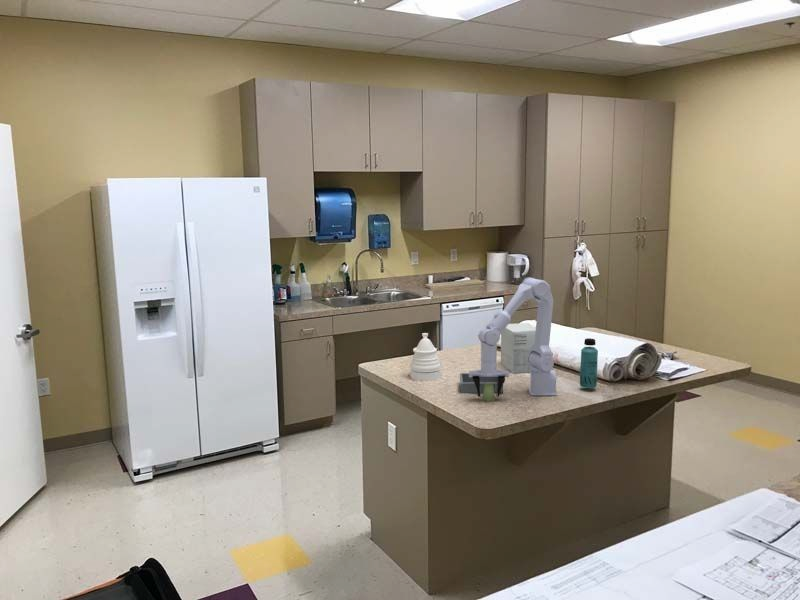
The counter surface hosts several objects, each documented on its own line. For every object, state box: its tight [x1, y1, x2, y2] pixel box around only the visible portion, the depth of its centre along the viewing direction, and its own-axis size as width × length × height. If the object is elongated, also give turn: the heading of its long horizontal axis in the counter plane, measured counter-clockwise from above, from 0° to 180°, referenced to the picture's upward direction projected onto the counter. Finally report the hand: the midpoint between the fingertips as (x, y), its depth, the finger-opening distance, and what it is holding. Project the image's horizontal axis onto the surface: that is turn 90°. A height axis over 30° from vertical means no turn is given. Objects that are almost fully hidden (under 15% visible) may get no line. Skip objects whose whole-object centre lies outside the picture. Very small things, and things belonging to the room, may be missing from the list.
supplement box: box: [500, 322, 536, 374], centre depth 282 cm, size 17×13×18 cm
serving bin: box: [459, 372, 504, 395], centre depth 255 cm, size 16×14×4 cm
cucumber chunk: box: [482, 382, 496, 402], centre depth 241 cm, size 4×4×6 cm
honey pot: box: [409, 332, 442, 382], centre depth 271 cm, size 13×13×18 cm
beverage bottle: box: [579, 337, 599, 389], centre depth 249 cm, size 6×7×20 cm
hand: (488, 395), depth 241 cm, fingers open, 6 cm apart
